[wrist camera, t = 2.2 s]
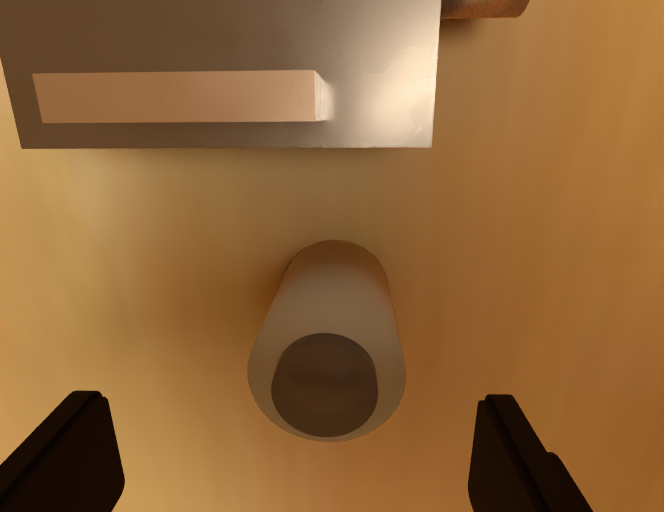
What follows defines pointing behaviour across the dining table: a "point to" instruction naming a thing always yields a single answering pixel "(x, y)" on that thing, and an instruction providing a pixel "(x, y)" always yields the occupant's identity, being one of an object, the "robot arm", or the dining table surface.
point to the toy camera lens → (329, 346)
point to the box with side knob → (227, 71)
